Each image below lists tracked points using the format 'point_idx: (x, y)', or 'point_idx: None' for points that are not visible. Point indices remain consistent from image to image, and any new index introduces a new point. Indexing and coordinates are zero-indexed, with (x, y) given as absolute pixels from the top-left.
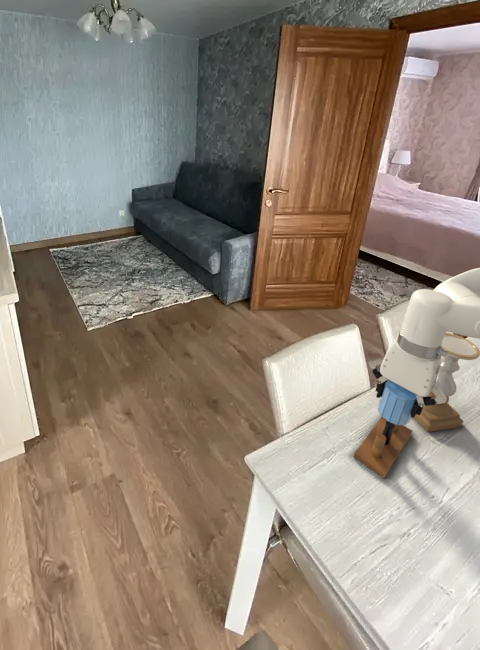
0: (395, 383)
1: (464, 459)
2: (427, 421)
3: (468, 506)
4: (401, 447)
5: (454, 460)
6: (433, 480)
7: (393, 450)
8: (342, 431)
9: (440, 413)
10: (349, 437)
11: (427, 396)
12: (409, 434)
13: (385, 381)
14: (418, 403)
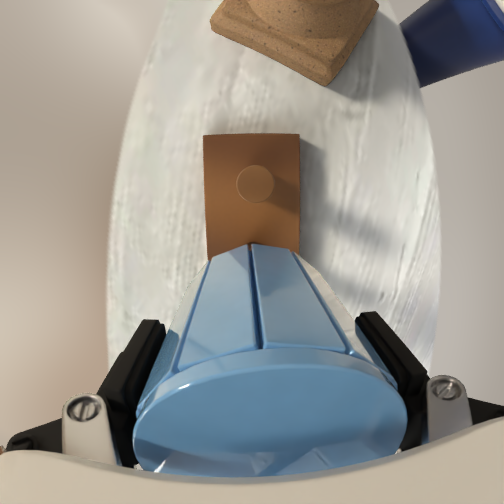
0: (204, 461)
1: (413, 120)
2: (321, 65)
3: (434, 256)
4: (298, 234)
5: (400, 142)
6: (378, 251)
7: None
8: (155, 294)
9: (345, 23)
10: (177, 298)
11: (467, 407)
12: (298, 159)
13: (130, 428)
14: (398, 452)
